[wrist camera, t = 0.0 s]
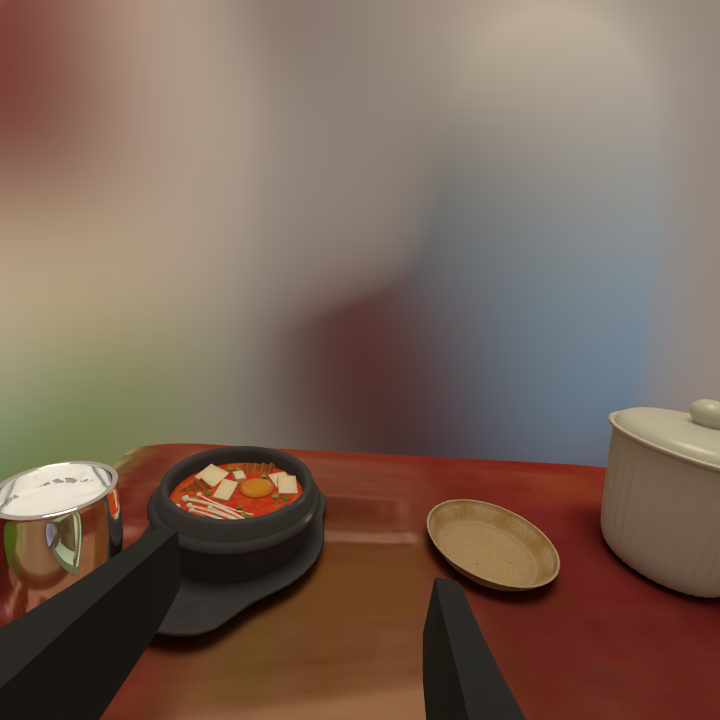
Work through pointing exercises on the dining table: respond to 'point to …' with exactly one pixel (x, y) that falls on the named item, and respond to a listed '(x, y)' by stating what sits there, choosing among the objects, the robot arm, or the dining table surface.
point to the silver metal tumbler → (55, 530)
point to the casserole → (236, 531)
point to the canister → (666, 495)
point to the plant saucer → (492, 545)
